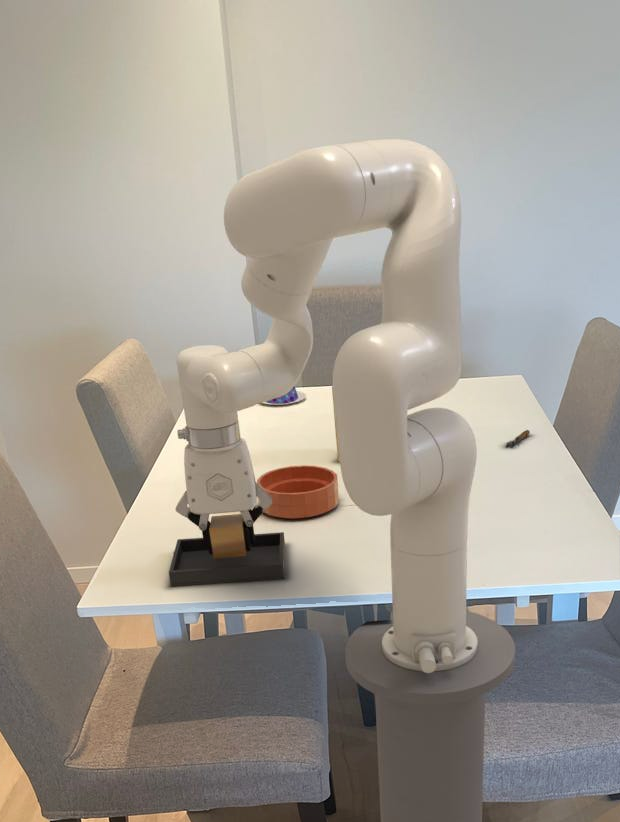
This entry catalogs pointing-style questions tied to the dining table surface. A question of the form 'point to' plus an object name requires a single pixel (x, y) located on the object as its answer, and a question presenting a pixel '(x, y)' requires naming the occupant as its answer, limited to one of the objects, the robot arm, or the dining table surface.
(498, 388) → the dining table surface
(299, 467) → the bowl
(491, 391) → the dining table surface
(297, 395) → the pudding
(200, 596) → the dining table surface
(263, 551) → the pan
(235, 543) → the block
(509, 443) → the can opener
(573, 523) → the dining table surface
